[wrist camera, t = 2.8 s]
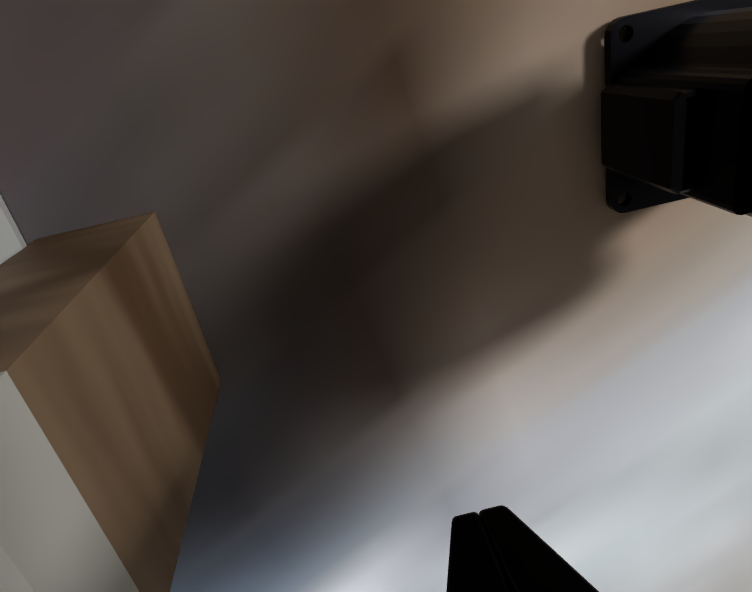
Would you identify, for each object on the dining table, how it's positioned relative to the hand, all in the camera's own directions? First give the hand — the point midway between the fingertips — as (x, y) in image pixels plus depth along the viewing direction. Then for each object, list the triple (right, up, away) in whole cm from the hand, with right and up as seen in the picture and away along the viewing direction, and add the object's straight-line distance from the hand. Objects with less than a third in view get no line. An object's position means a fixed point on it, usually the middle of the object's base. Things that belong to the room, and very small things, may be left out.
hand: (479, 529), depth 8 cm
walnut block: (-10, +3, +11) cm, 15 cm away
